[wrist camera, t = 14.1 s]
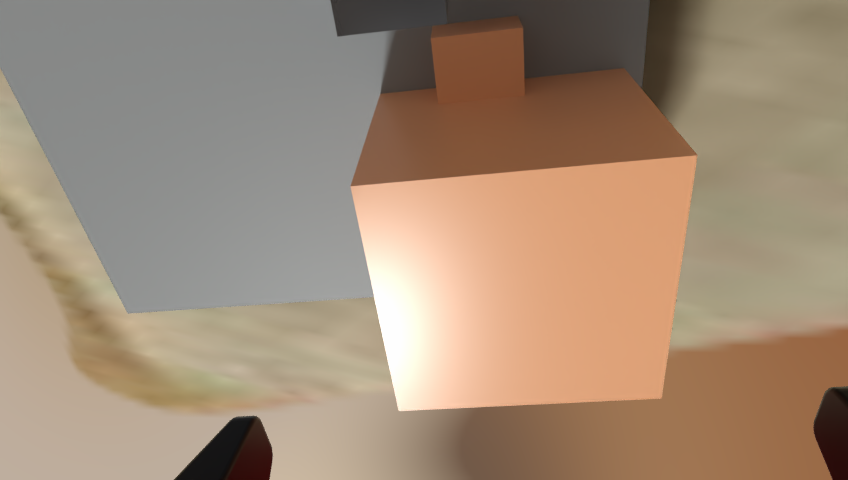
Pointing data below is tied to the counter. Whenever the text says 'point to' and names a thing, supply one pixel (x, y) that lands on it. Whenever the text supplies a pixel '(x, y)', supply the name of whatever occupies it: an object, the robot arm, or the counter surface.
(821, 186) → the counter surface
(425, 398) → the cover
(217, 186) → the latch plate
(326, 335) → the counter surface
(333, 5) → the latch bolt
